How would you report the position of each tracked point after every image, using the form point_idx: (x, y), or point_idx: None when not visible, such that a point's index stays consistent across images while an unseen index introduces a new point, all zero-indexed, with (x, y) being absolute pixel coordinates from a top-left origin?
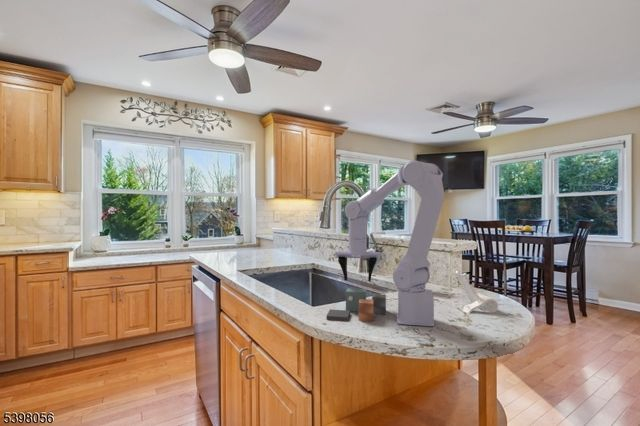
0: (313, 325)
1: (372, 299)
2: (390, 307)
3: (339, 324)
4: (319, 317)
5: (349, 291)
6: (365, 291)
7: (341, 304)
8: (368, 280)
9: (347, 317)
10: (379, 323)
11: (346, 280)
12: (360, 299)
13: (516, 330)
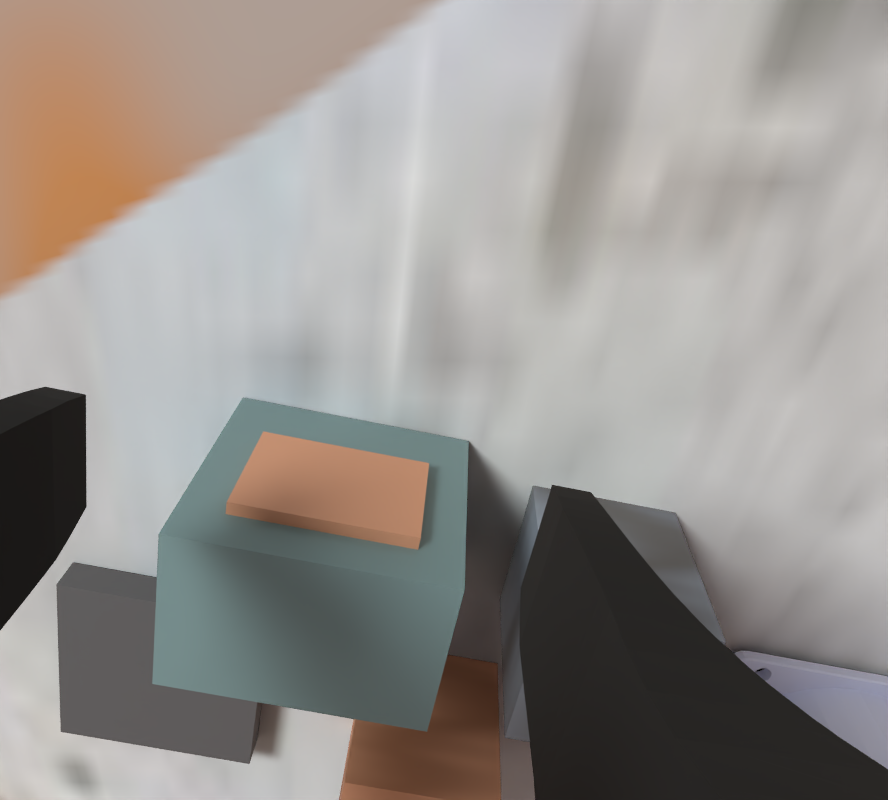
0: (4, 797)
1: (507, 716)
2: (775, 413)
3: (196, 790)
4: (3, 663)
5: (203, 683)
6: (433, 690)
7: (162, 281)
8: (522, 604)
9: (248, 760)
10: (513, 787)
11: (83, 505)
12: (351, 797)
13: None
